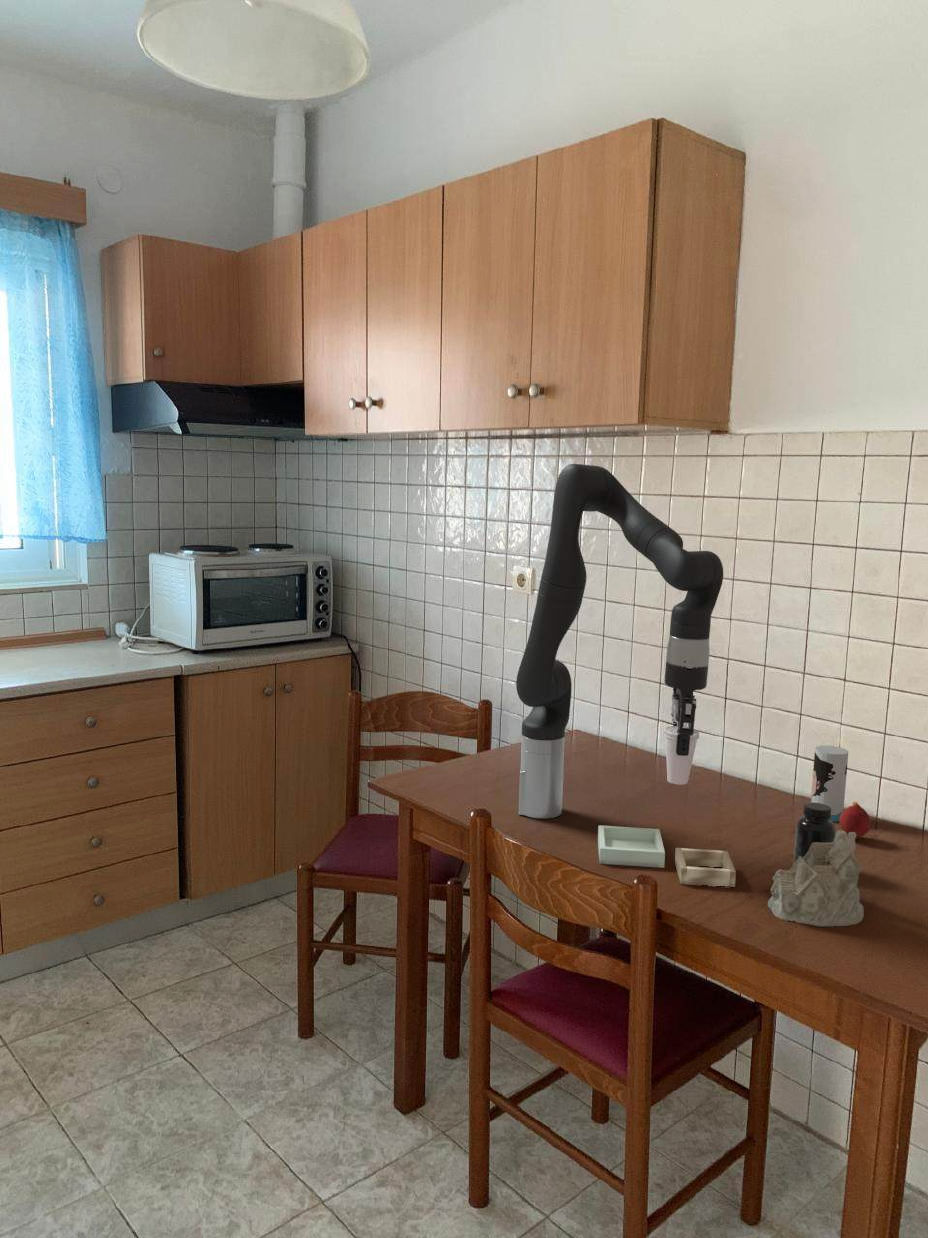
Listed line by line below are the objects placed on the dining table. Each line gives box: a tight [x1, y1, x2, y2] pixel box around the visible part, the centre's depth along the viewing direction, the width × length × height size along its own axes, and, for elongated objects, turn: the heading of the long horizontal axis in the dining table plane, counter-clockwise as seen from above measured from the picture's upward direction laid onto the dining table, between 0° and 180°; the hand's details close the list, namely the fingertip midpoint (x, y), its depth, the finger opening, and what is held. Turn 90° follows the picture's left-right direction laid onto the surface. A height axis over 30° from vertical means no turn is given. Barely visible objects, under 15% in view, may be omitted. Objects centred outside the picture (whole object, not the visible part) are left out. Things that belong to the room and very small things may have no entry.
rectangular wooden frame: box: [674, 847, 737, 888], centre depth 170 cm, size 10×10×3 cm
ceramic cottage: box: [767, 830, 865, 928], centre depth 158 cm, size 16×16×15 cm
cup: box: [810, 745, 849, 823], centre depth 201 cm, size 7×7×15 cm
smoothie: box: [663, 723, 700, 785], centre depth 171 cm, size 6×6×14 cm
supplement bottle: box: [793, 802, 836, 864], centre depth 174 cm, size 7×7×12 cm
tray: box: [597, 825, 666, 869], centre depth 179 cm, size 12×12×3 cm
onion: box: [839, 800, 871, 840], centre depth 189 cm, size 6×6×8 cm
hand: (679, 749), depth 171 cm, fingers closed on smoothie, 6 cm apart
